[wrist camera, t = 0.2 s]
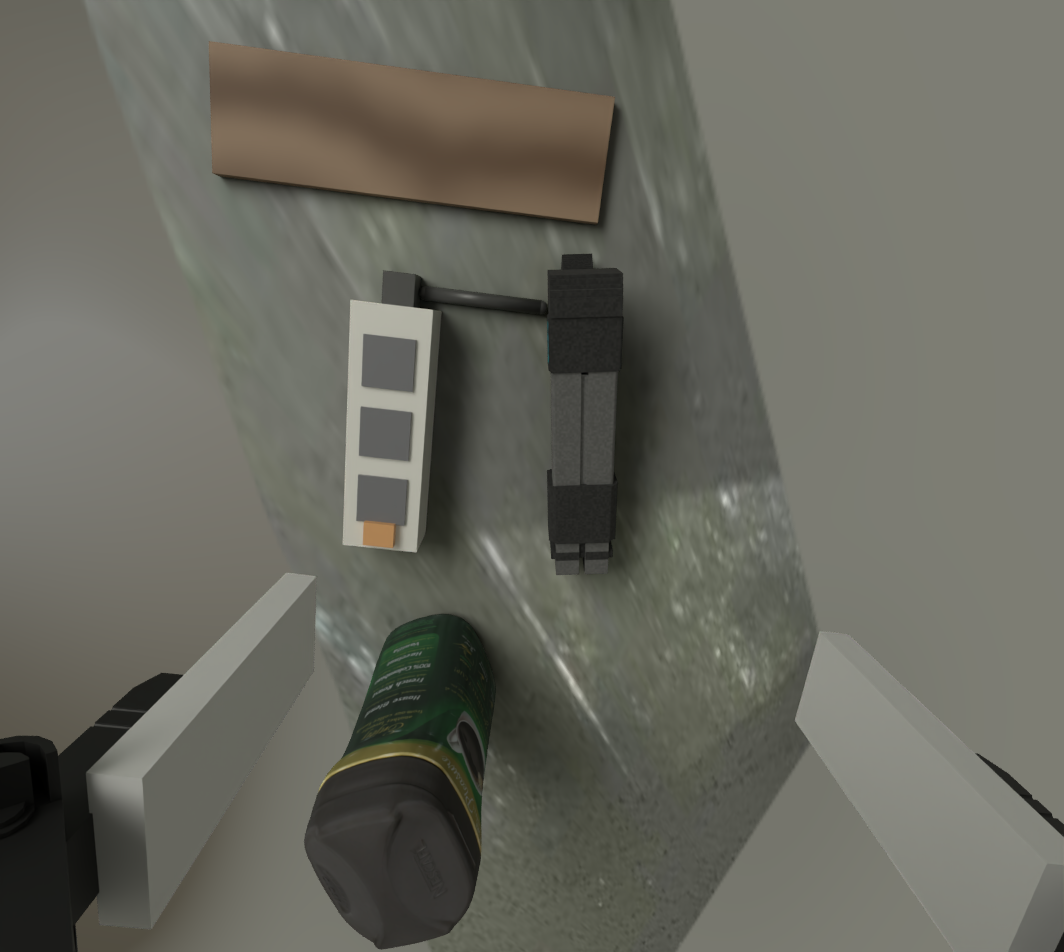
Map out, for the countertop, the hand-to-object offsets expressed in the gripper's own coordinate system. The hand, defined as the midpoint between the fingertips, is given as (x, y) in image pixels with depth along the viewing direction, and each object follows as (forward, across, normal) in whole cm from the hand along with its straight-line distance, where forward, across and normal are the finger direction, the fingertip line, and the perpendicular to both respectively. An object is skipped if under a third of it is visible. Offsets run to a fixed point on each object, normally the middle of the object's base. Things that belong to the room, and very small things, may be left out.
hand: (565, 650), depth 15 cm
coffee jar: (+27, -6, -18) cm, 33 cm away
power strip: (+26, -7, +1) cm, 27 cm away
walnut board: (+26, -10, +18) cm, 34 cm away
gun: (+27, +2, +2) cm, 27 cm away
